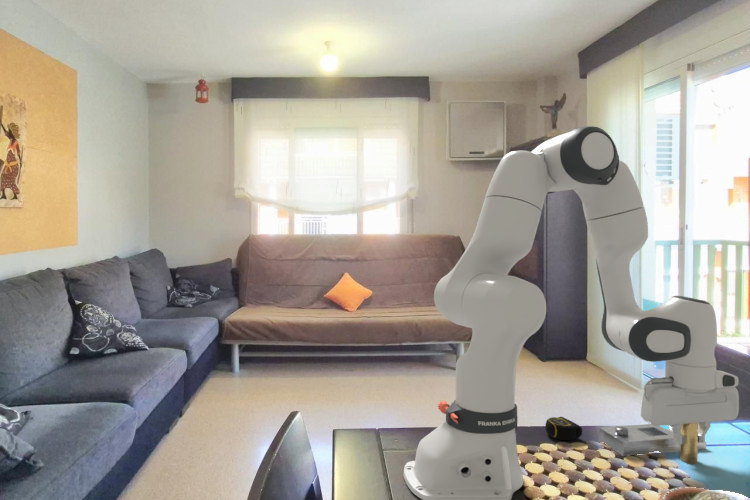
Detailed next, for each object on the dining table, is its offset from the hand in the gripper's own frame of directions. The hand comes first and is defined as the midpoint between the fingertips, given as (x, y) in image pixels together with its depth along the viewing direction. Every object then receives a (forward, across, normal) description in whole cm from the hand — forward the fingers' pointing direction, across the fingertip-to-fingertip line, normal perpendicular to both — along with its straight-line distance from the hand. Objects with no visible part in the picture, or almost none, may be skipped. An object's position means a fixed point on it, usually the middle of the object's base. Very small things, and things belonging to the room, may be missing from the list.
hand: (688, 442), depth 103 cm
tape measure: (+4, -18, +16) cm, 25 cm away
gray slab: (+4, -2, +8) cm, 9 cm away
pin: (+4, 0, 0) cm, 4 cm away
